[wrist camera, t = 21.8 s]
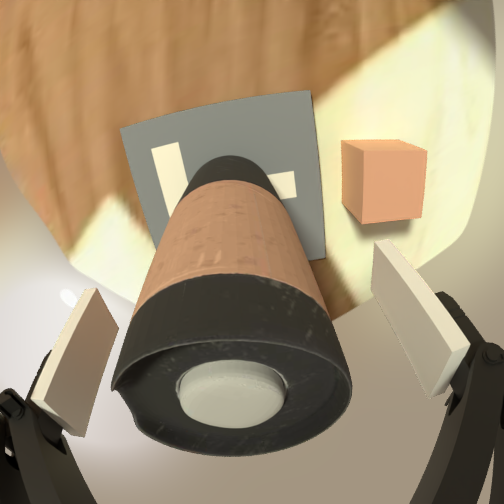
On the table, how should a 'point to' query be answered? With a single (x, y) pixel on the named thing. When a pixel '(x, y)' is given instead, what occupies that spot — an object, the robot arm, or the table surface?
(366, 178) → the terracotta block
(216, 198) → the travel mug
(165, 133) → the letter mat
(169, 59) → the table surface
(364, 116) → the table surface
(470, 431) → the robot arm
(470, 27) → the table surface
